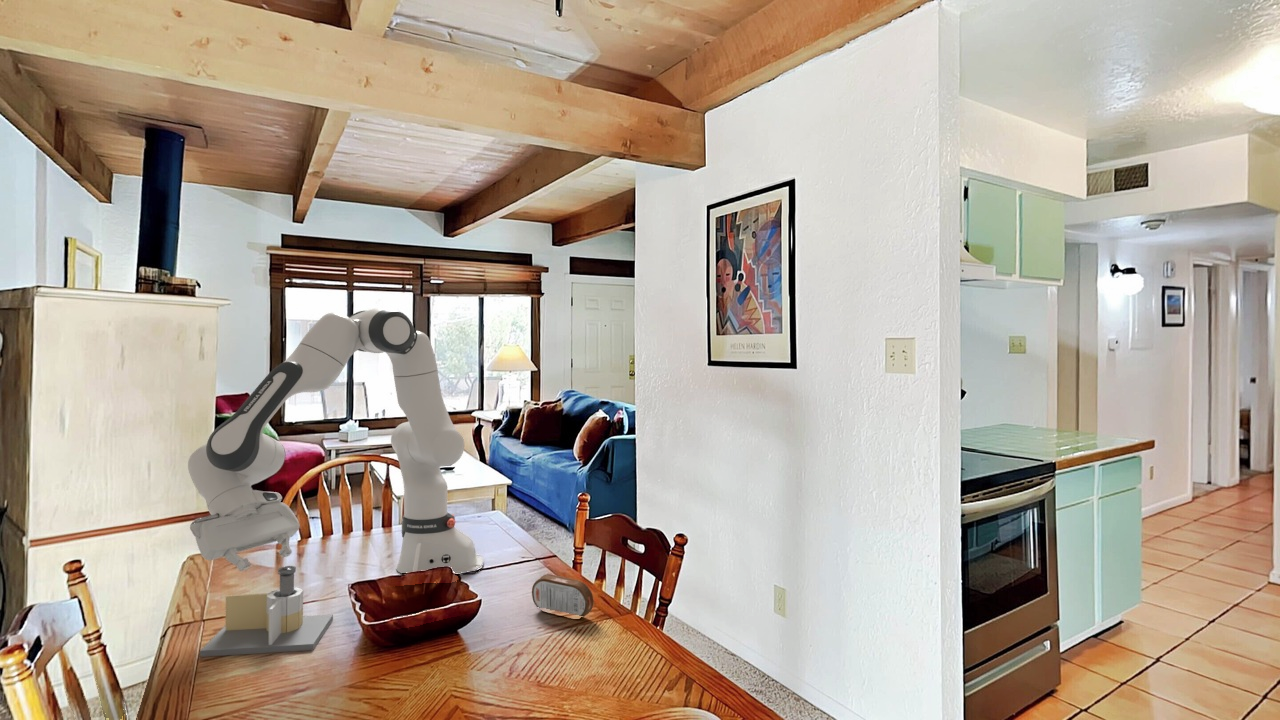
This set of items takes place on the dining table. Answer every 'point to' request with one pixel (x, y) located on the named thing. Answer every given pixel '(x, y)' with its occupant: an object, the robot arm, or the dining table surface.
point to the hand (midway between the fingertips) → (267, 561)
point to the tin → (562, 595)
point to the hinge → (266, 625)
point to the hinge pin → (286, 580)
